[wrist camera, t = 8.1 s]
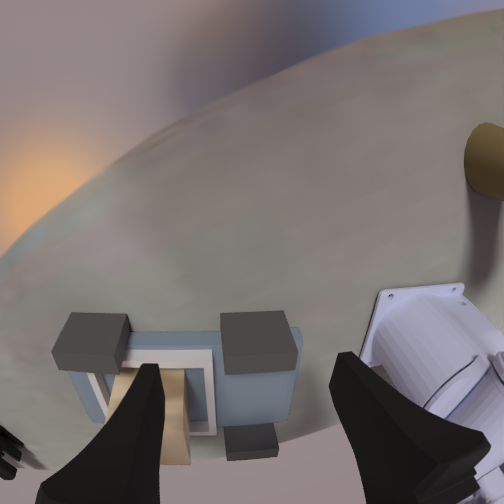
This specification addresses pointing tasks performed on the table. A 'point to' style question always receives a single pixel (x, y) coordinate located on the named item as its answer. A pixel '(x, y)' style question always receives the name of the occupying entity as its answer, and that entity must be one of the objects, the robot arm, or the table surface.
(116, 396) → the block
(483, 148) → the cork
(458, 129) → the table surface
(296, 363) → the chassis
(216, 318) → the table surface
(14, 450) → the end cap
